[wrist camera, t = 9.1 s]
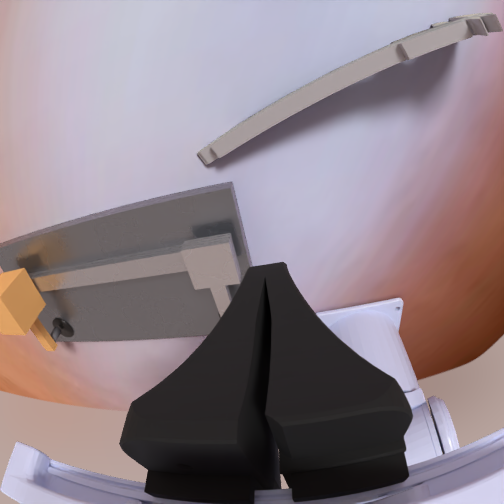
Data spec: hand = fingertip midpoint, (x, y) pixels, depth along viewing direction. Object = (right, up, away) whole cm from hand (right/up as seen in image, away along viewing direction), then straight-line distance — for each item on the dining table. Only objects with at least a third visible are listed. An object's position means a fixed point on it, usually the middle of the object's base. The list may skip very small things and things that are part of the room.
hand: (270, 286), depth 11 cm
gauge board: (-13, -1, +13) cm, 18 cm away
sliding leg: (-21, -3, +13) cm, 25 cm away
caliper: (+5, +12, +5) cm, 14 cm away
